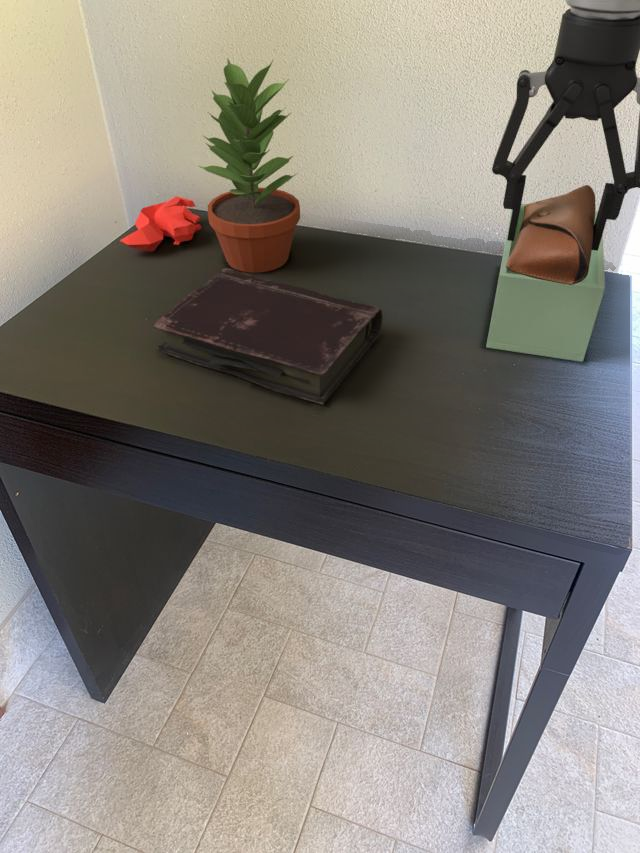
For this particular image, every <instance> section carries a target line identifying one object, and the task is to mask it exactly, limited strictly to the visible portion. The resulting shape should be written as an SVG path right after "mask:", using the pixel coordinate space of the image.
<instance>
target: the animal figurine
mask: <svg viewBox="0 0 640 853" xmlns="http://www.w3.org/2000/svg"><path fill="white" fill-rule="evenodd" d="M194 207H196V204H195V202H194V200H192V199H188V198H185V197H180V196H174V197H172V198H171V199H169V200H167V201H163V202H160V203H157V204H153V205H149V206H145V207H142V208H141V210H140V212H139V214H138V216H137V218H136V221H135V222H134V225H135V227H136V228H137V230H135V231H134V232H131V233H130V234H128V235H126V236H124V237H123V238H122V239H119V242H121V243H123V244H125V245H126V246H127V247H129V248H133V249H136V250H140V251H143V252H155V250H156V249H157V248H158V246H159V245H160V244H161V243H162V241H163V240H164V237H166V238H167V237H168V238H171V239H173V240H174V241H173V243H172V244H173V245H177V246H179V245H180V244H181V243H182V242H188V241H191V240H192V239H193V237H194V233H196V232H198V231H200V230H201V229H202V225H201V224H200V223H199V222H200V221H201V216H199V215H197V214H194V213H193V212H192V211H191V210H190V209H189V208H194Z"/></svg>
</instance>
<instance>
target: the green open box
mask: <svg viewBox="0 0 640 853" xmlns="http://www.w3.org/2000/svg"><path fill="white" fill-rule="evenodd" d="M526 204H527V203H521V208H520V213H519V218H518V223H517V228H516V233H515V238H514V241H509V240H507V239H508V232H509V227H510V221H511V216H512V211H513V210H512V209H510V210H511V211H510V216H509V221H508V227H507V231H506V238H505V242H504V248H503V253H502V259H501V263H500V269H499V273H498V280H497V284H496V285H497V286H496V292H495V296H494V302H493V307H492V313H491V317H490V323H489V329H488V335H487V339H486V345H485V348H488V349H494V350H501V351H507V352H514V353H520V354H526V355H533V356H541V357H547V358H554V359H561V360H566V361H567V360H568V361H573V362H581V363H584V360H585V356H586V354H587V350H588V346H589V343H590V341H591V336H592V333H593V330H594V327H595V322H596V320H597V316H598V313H599V310H600V307H601V304H602V300H603V297H604V293H605V290H606V280H605V257H604V256H605V254H604V234H603V235H602V238H601V242H600V245H599V249H598V251H596V250H592V251H591V258H590V265H589V271H588V275H587V276H586V278H585V279H583V280H582V281H581V282H579V283H576V284H573V285H569V284H562V283H557V282H551V281H546V280H540V279H536V278H532V277H528V276H525V275H522V274H519V273H515V272H512V271H511V270H509V269H508V268H506V264H507V261H508V259H509V257H510V254H511V252H512V250H513V248H514V246H515V243H516V241H517V238H518V234H519V231H520V228H521V225H522V221H523V216H524V206H525V205H526ZM597 213H598V210H595V221H596V217H597ZM594 224H595V222H594Z"/></svg>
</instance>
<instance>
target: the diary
mask: <svg viewBox="0 0 640 853" xmlns="http://www.w3.org/2000/svg"><path fill="white" fill-rule="evenodd" d="M382 325H383V312H382V308H381V307H380V306H379V307H378V306H375V305H371V304H366V303H361V302H358V301H352V300H348V299H343V298H340V297H334V296H331V295H328V294H324V293H321V292H317V291H315V290H310V289H307V288H303V287H302V286H301V287H300V286H297V285H292V284H289V283H285V282H284V283H283V282H278V281H275V280H270V279H265V278H261V277H258V276H254V275H251V274H248V273H245V272H242V271H239V270H235V269H230V268H227V267H224V268H223V269H221V271H219V272H217V274H215V275H214V276H213V277H212V278H210V279H209V280H207V282H205V283H204V284H202V285H200V286H199V287H198V288H196V289H195V290H193V291H192V292H190V293H189V294H188V295H186V297H185V298H183V299H182V300H180V301H179V302H178V303H177V304H175V305H174V306H173V307H172V308H171V309H169V310H168V311H167V312H166V313H165V314H164V315H163V316H161V318H160V319H158V320H157V321H156V323H155V324H154V325H153V326H152V328H153V329H155V330H159V331H161V332H164V335H165V341H166V342H165V343H163V344H162V345H158V346H157V349H158V350H160V351H161V352H163V353H165V354H167V355H168V356H169V355H170V356H172V357H175V358H178V359H181V360H182V361H186V362H188V363H191V364H194V365H198V366H201V367H204V368H208V369H211V370H214V371H218V372H223V373H226V374H229V375H233V376H236V377H239V378H240V379H244V380H245V381H248V382H251V383H253V384H256V385H258V386H261V387H263V388H266V389H269V390H271V391H273V392H276V393H279V394H283V395H287V396H290V397H294V398H297V399H301V400H305V401H309V402H311V403H312V402H313V403H316V404H319V405H322V406H324V404H326V402H327V401H328V400H329V399H330V397H331V396H332V395H333V394H334V392H335V391H336V390H337V389H338V387H339V386H340V385H341V383H342V382H343V381H344V379H345V378H346V377H347V376H348V375H349V374H350V372H351V371H352V370H353V368H354V367H355V366H356V365H357V364H358V362H360V360H361V359H362V357H364V354H366V352H367V351H368V350H369V349H370V347H371V346H372V345H373V344H374V342H375V341H376V340H377V338H378V337H379V336H380V334H381V330H382Z"/></svg>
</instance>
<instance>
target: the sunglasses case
mask: <svg viewBox="0 0 640 853" xmlns="http://www.w3.org/2000/svg"><path fill="white" fill-rule="evenodd" d="M596 201H597V200H596V194H595V190H594V189H593V187H592V186H590V185H588V184H586V185H582V186H580V187H577V188H575V189H573V190H571V191H568V192H567V193H565V194H561V195H557V196H554V197H549V198H546V199H542V200H537V201H533V202H530V203H525V204H526V205H525V206H524V216H523V221H522V225H521V228H520V231H519V234H518V238H517V241H516V243H515V246H514V248H513V250H512V252H511V254H510V257H509V259H508V261H507V264H506V268H508V269H509V270H511V271H512V272H515V273H519V274H522V275H525V276H528V277H532V278H536V279H540V280H546V281H551V282H557V283H562V284H569V285H573V284H576V283H579V282H581V281H582V280H583V279H585V278H586V276H587V275H588V271H589V265H590V258H591V251H592V242H593V232H594V222H595V211H597V208H596V207H597V206H596V205H597V204H596Z"/></svg>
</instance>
